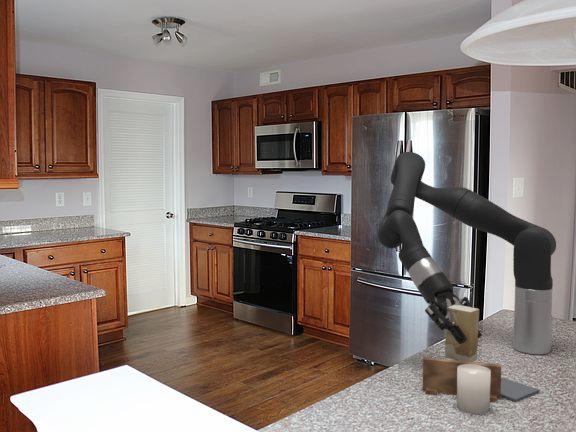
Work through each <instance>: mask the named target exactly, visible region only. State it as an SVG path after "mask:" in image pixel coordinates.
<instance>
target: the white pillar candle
mask: <svg viewBox="0 0 576 432" xmlns="http://www.w3.org/2000/svg"><path fill="white" fill-rule="evenodd" d="M490 380H491V370H490V369H488V368H487V367H484V366H481V365H476V364H463V365H459V366H458V367H457V394H456V408H457V409H458V410H459V411H460V412H462V413H466V414H470V415H476V416H478V415H479V416H480V415H486V414H488V413H489V412H490V411H491V410H490V409H491V408H490V407H491V402H490Z"/></svg>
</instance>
